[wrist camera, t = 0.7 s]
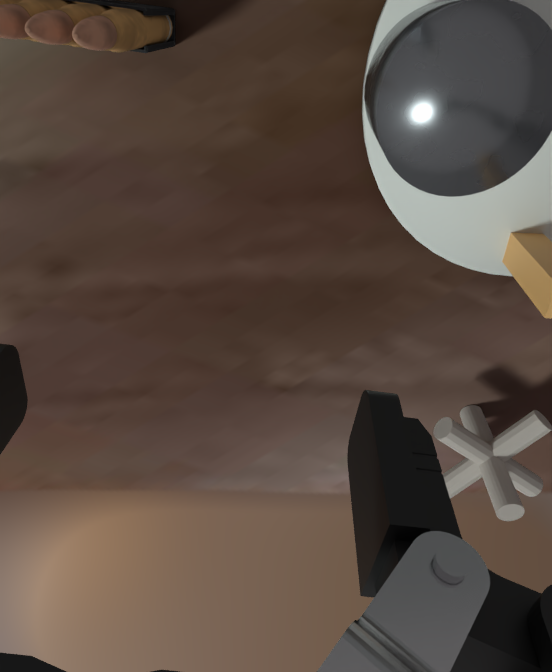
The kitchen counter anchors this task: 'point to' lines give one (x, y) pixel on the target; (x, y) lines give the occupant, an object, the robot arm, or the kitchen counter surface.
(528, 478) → the pipe connector
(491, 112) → the cover
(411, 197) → the platter
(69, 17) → the ammunition clip
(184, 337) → the kitchen counter surface
